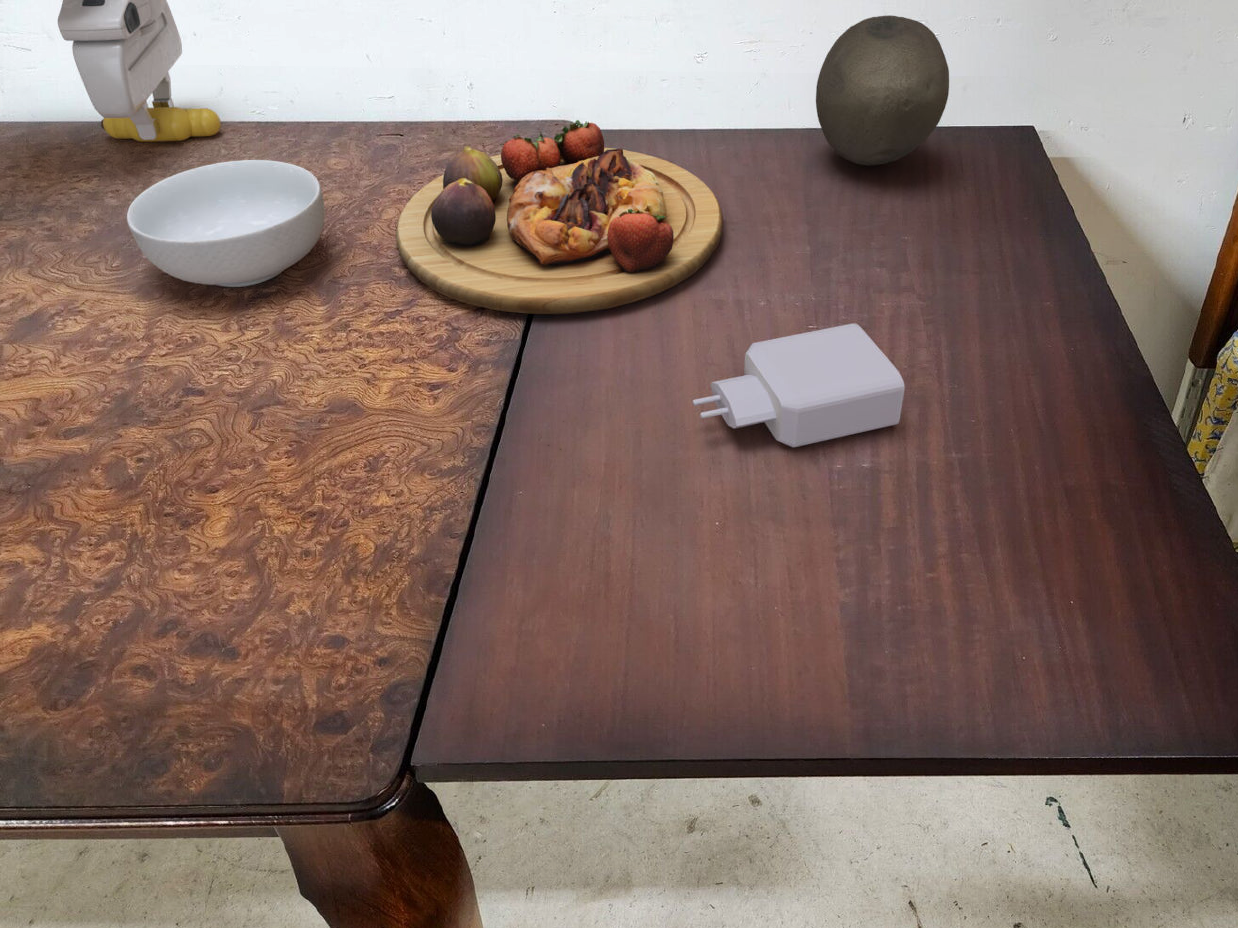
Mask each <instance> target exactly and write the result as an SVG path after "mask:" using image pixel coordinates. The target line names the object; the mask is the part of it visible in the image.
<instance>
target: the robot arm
mask: <svg viewBox="0 0 1238 928" xmlns="http://www.w3.org/2000/svg"><path fill="white" fill-rule="evenodd" d="M57 27H58V30H59V33H60V35H61V38H62V39H63V40H64V41H66V42H72V47H71V49H72V57H73V59H74V61H75V62H74V63H75V66H76V68H77V71H78V73H79V76H80V79H81V81H82V83H83V84H82V85H83V86H84V88H85V91H86V92H87V95H88V97H89V100H90V103H91V105H92V106H93V109H95V111H96V112H97V113H98V114H99V115H100V116H101V117H102V118H103V119H104V118H130V119H131V120H132V122H133V123H134V124H135V125H136V128H137V131H138V134H139V136H140V138H141V139H143V140H153V139H155V138H156V137H157V135H158V134H159V128H158V126H157V122H156V119H152V118H151V116H150V114H149V112H148V110H147V108H149V104H148V99H149V98H150V96H152V99H153V100H152V101H151V103H152V108H158V107H175V105H174V101H173V98H172V81H171V76H170V71H171V69H172V68H173V66H174V65H175V64H176V62H177V61H178V60H179V58H181V56H182V54H183V43H182V38H181V36H180V32H179V30H178V26H177V24H176V21H175V19H174V16H173V13H172V10H171V8H170V5H169V3H168V1H167V0H62V1H61V7H60V10H59V14H58V16H57Z"/></svg>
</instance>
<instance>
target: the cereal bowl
mask: <svg viewBox="0 0 1238 928" xmlns="http://www.w3.org/2000/svg"><path fill="white" fill-rule="evenodd" d="M325 215H326V209H325V201H324V195H323V190H322V187H321V183H320V182H319V180H318V178H317V177H316V176H315V175H314V174H313V173H312V172H311V171H309V170H307V169H306V168H304V167H301V166H298V165H296V164H293V163H289V162H283V161H280V160H279V161H277V160H269V159H244V160H243V159H242V160H241V159H240V160H230V161H223V162H217V163H216V162H215V163H211V164H207V165H202V166H199V167H194V168H190V169H188V170H184V171H182V172H178V173H176V174H173V175H171V176H168V177H165V178H164V179H162V180H159V181H158V182H156V183H154V184H152V185H150V186H149V187H148V188H146V189H145V190H143V191H142V192H141V193H140V194H139V195H138V196H136V197H135V198H134V199H133V200H132V202H131V203H130V205H129V207H128V209H127V213H126V222H127V225H128V229H129V231H130V232H131V235H132V237H133V239H134V241H135V242H136V245H137V247H138V248H139V250H140V252H142V255H144V256H145V257H146V259H147V260H148V261H149V262H150V263H151V264H152V265H154V266H155V267H156V268H158V269H159V270H161V271H162V272H163V273H165V274H168V275H169V276H171V277H174V278H175V279H179V280H181V281H185V282H188V283H194V284H201V285H210V286H219V287H225V288H226V287H227V288H240V287H241V288H242V287H249V286H253V285H257V284H261V283H264V282H267V281H269V280H272V279H273V278H275V277H277V276H278V275H280V274H281V273H283V271H285V270H286V269H288V268H290V267H292V266H294V265H295V264H296V263H298V262H300V261H301V260H302V259H303V258H304V257H306V255H308V254H309V253H310V252H311V251H312V249H313V248H315V246H316V244H317V243H318V241H319V240H320V238H321V235H322V233H323V229H324V226H325V221H326V216H325Z"/></svg>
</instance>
